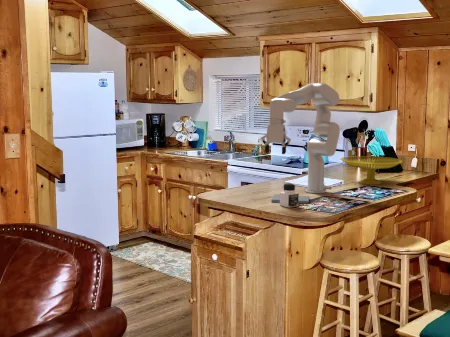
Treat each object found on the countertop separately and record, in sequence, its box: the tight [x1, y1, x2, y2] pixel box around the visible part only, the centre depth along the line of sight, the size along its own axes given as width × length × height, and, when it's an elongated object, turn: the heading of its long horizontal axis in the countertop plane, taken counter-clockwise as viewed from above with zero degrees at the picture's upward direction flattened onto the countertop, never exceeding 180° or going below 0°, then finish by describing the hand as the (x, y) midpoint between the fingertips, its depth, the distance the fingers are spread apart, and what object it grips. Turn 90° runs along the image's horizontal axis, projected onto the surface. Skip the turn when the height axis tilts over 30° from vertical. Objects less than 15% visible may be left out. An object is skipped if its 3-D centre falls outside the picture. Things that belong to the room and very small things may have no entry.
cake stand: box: [340, 155, 404, 185], centre depth 390 cm, size 40×40×15 cm
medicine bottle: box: [279, 182, 300, 208], centre depth 315 cm, size 7×7×12 cm
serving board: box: [270, 194, 310, 205], centre depth 330 cm, size 20×14×2 cm
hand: (275, 153), depth 325 cm, fingers open, 9 cm apart
